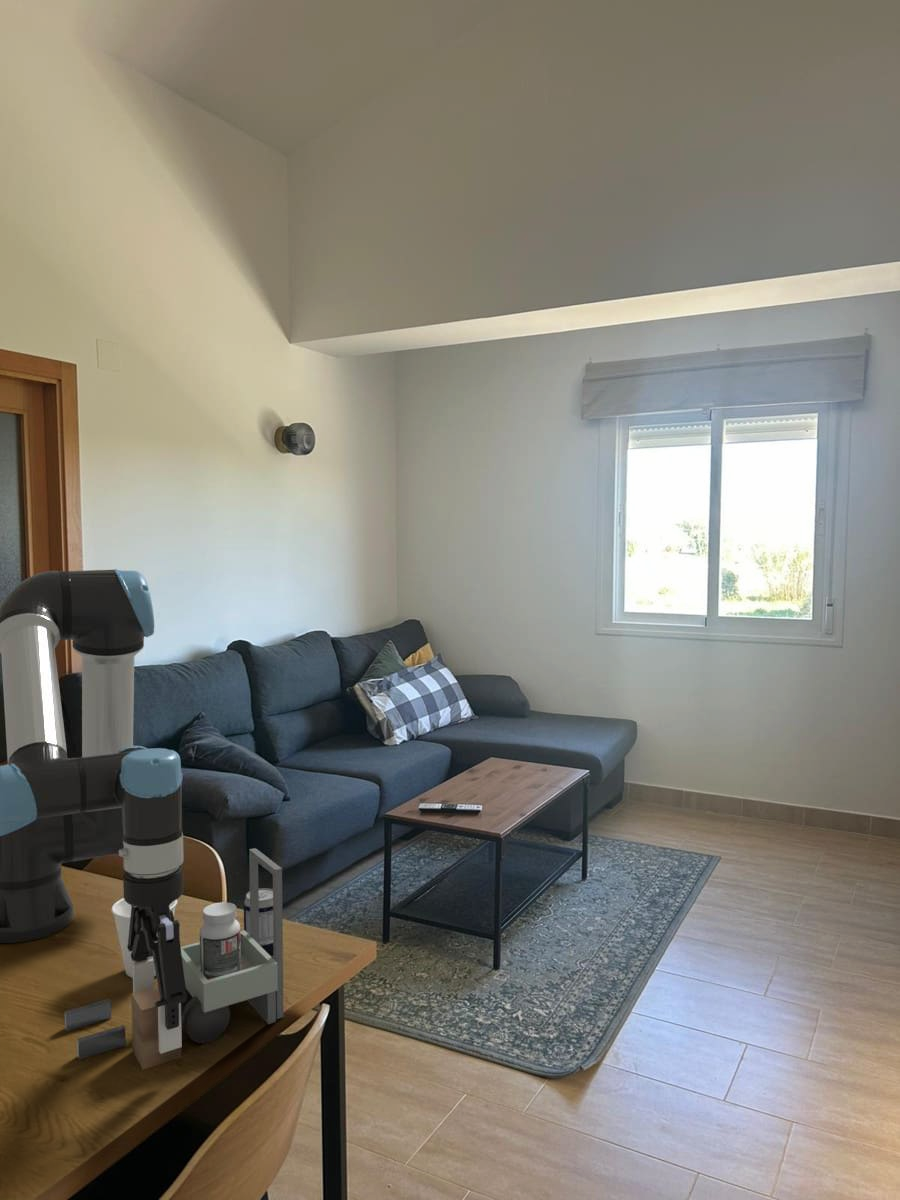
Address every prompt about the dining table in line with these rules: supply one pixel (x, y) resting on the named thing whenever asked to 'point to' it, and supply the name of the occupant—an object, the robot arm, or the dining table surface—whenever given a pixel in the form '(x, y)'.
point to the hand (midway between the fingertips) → (156, 1027)
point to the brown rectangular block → (148, 1030)
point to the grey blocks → (98, 1040)
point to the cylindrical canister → (262, 919)
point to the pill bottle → (220, 941)
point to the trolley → (254, 982)
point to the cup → (122, 924)
